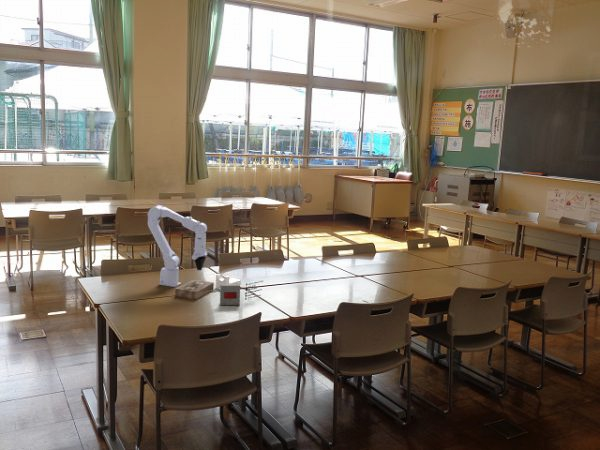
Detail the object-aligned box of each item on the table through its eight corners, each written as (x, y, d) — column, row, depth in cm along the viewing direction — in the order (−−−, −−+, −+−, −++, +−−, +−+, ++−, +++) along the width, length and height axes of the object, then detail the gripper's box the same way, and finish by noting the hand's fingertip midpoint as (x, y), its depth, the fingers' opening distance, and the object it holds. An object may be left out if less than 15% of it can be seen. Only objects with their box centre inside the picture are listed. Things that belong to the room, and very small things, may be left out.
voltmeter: (228, 309, 271) (229, 289, 270) (212, 303, 279) (213, 284, 277) (266, 299, 291) (267, 280, 290) (251, 294, 299) (252, 276, 297)
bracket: (225, 290, 302) (226, 277, 301) (215, 288, 306) (216, 274, 305) (240, 286, 313) (241, 273, 312) (230, 283, 317) (231, 270, 315)
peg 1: (185, 295, 287) (185, 288, 287) (188, 293, 291) (189, 286, 291) (192, 296, 286) (192, 289, 286) (195, 294, 290) (196, 287, 290)
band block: (175, 296, 286) (175, 288, 285) (193, 286, 305) (193, 279, 304) (196, 299, 282) (196, 291, 282) (213, 289, 302) (213, 282, 301)
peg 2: (193, 290, 297) (194, 283, 296) (197, 288, 301) (197, 281, 300) (200, 291, 296) (201, 284, 295) (204, 289, 300) (204, 282, 299)
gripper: (200, 248, 294) (199, 273, 296) (212, 244, 307) (211, 268, 310) (188, 247, 296) (187, 272, 298) (201, 242, 309) (200, 266, 312)
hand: (199, 269), depth 304 cm, fingers closed
